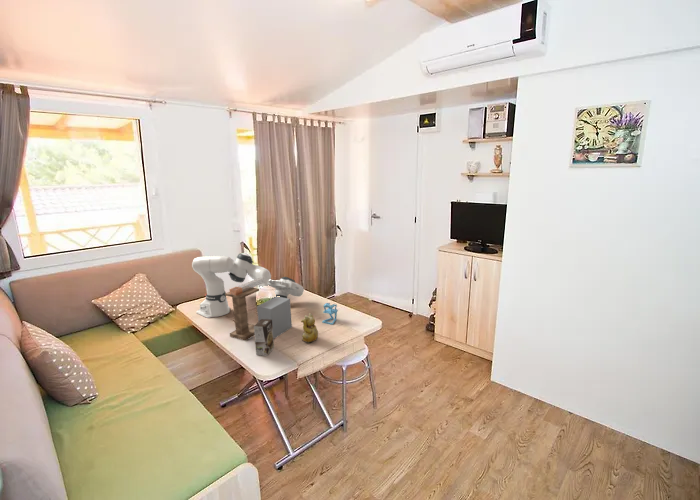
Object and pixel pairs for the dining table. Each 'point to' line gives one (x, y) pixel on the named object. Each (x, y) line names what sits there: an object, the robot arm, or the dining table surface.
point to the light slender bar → (246, 286)
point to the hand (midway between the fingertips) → (274, 282)
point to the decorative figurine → (309, 329)
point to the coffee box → (264, 337)
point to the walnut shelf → (242, 315)
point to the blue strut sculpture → (330, 312)
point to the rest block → (276, 314)
